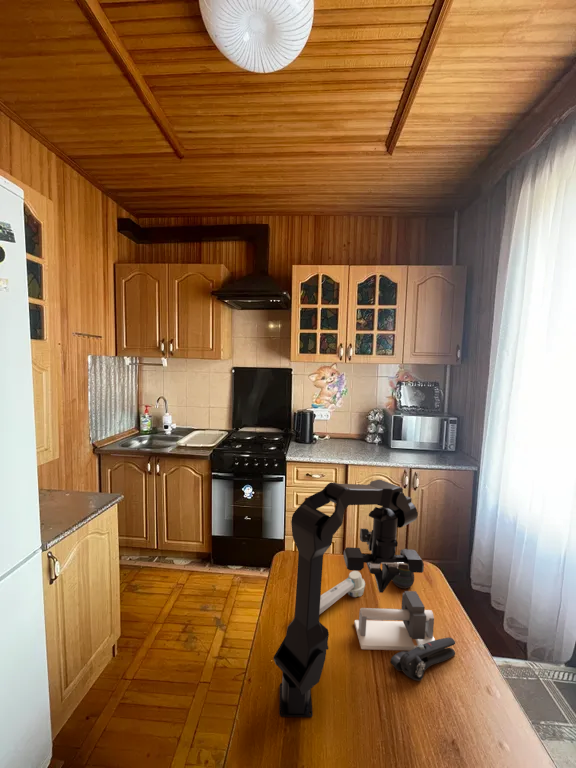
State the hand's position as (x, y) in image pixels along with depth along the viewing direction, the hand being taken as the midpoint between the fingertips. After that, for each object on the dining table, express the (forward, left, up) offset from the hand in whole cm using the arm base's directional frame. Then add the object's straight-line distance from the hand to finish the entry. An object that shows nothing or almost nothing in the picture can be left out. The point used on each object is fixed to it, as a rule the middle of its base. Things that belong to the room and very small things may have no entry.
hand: (380, 591), depth 87 cm
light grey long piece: (+10, +10, -12) cm, 19 cm away
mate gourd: (+21, -13, -12) cm, 28 cm away
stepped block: (0, -9, -10) cm, 13 cm away
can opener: (-8, -10, -12) cm, 17 cm away
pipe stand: (0, -4, -12) cm, 13 cm away
